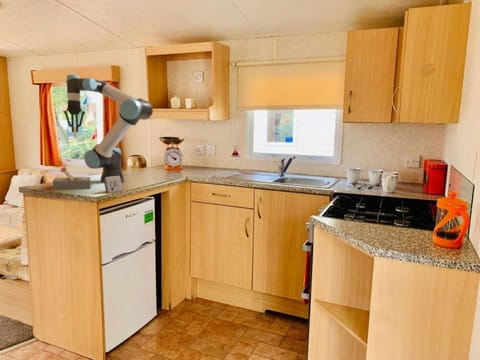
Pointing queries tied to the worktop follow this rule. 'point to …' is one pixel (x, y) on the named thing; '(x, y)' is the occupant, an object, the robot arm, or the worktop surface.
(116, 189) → the electrical switch
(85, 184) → the box
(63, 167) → the breaker lever
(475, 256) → the worktop surface
